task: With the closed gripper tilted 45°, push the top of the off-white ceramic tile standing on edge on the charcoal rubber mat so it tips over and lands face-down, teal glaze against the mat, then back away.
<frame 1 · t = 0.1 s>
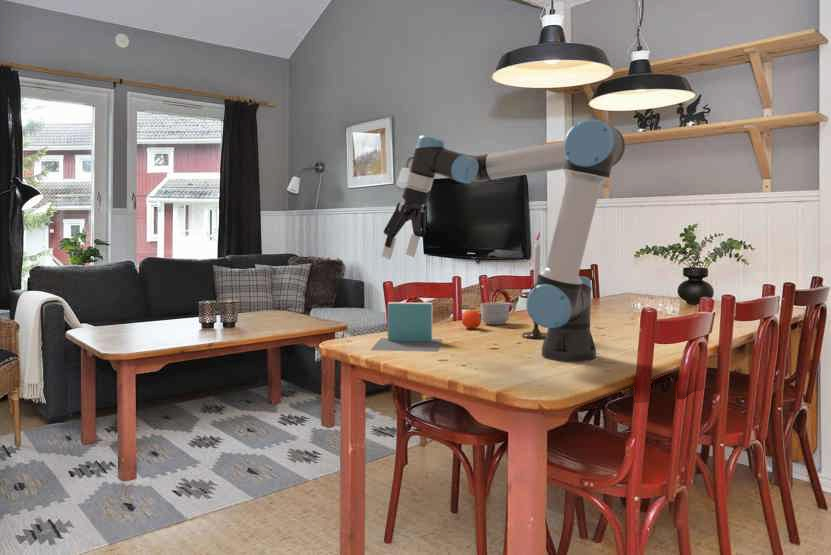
hand: (398, 256, 198), 28 cm above the table, tool tilted 20°, fingers open, 13 cm apart
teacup: (498, 324, 246), on the table
tile: (410, 340, 209), point 1 cm above the table, touching mat
candlestick: (535, 337, 219), on the table
mat: (407, 346, 203), on the table
clementine: (469, 329, 235), on the table
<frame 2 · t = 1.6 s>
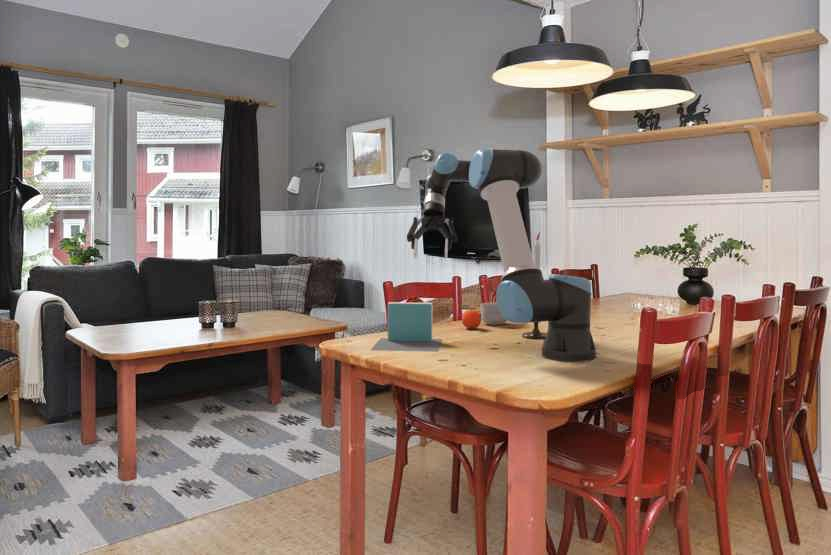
hand: (430, 255, 220), 27 cm above the table, tool tilted 45°, fingers open, 10 cm apart
nothing on the table moved.
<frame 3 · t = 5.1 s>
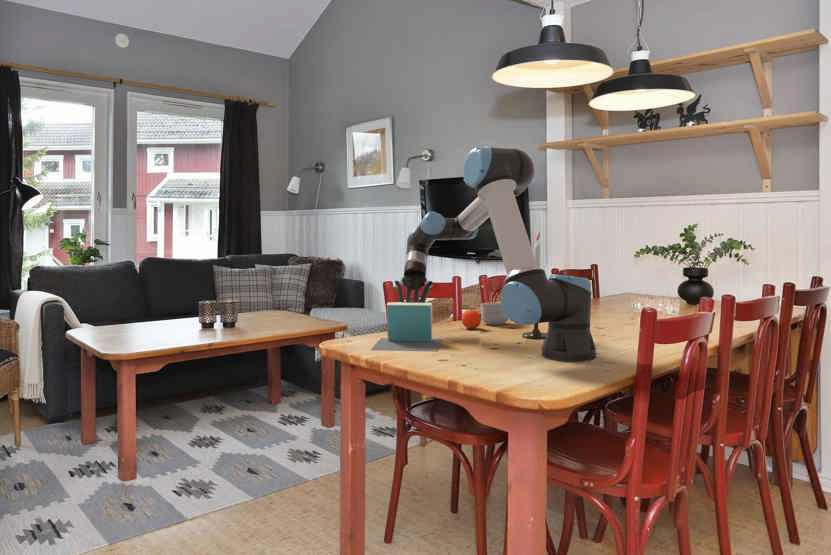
hand: (410, 323, 210), 6 cm above the table, tool tilted 45°, fingers closed
tile: (410, 339, 209), point 1 cm above the table, tilted 10°, touching mat
everything else where it was.
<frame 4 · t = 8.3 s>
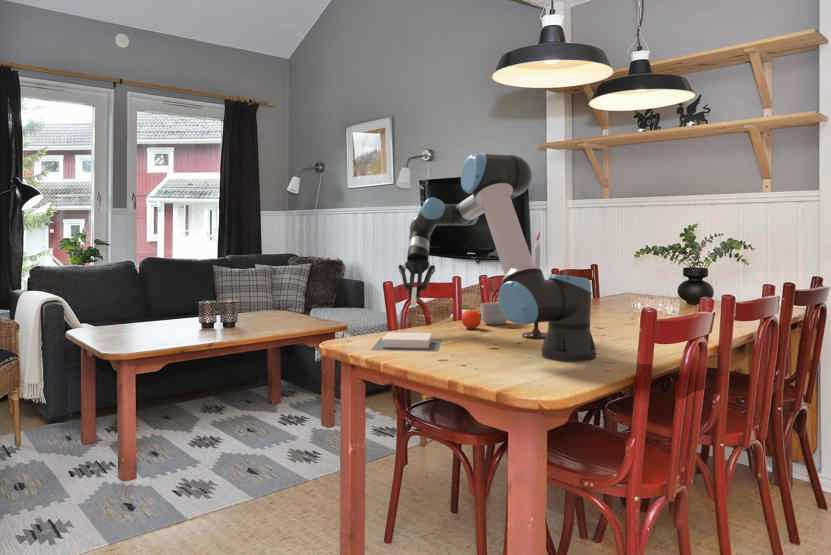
hand: (413, 305, 217), 11 cm above the table, tool tilted 45°, fingers closed
tile: (409, 336, 208), point 2 cm above the table, tilted 90°, touching mat
everything else where it was.
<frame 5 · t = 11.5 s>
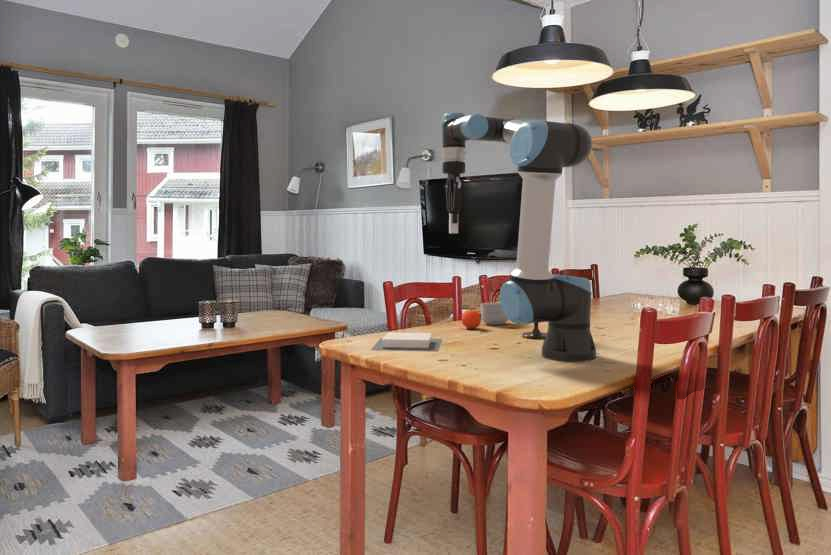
hand: (453, 233, 218), 34 cm above the table, tool pointing down, fingers closed
nothing on the table moved.
at the end: tile tilted 90°; tile inside the target area on the mat (5.0 cm from its centre), point 2.1 cm above the mat's base; the gripper is holding nothing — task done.
